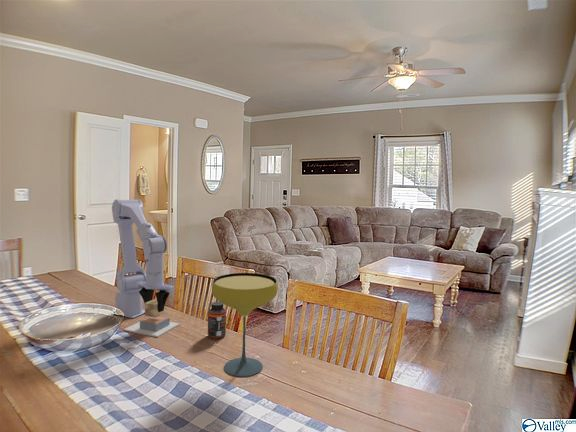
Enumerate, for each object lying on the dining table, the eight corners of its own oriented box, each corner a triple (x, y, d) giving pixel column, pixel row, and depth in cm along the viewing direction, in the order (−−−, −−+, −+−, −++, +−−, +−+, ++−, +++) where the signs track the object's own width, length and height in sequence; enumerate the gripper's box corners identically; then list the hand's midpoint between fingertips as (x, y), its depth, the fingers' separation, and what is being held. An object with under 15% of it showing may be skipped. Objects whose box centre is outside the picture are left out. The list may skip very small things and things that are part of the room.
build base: (124, 330, 131) (123, 321, 131) (148, 319, 142) (147, 310, 142) (157, 337, 126) (157, 327, 126) (179, 324, 137) (179, 316, 137)
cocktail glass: (284, 359, 113) (287, 276, 111) (259, 390, 96) (261, 293, 94) (230, 348, 119) (231, 270, 117) (197, 375, 102) (198, 284, 100)
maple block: (145, 315, 132) (144, 302, 131) (153, 311, 136) (153, 299, 136) (155, 317, 130) (155, 304, 130) (164, 313, 135) (164, 301, 134)
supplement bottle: (223, 339, 126) (224, 306, 125) (205, 339, 126) (206, 305, 125) (227, 332, 132) (227, 300, 131) (210, 332, 132) (210, 300, 131)
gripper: (129, 271, 131) (129, 310, 132) (164, 276, 126) (164, 316, 127) (143, 267, 137) (144, 304, 138) (177, 272, 132) (177, 310, 134)
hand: (154, 310), depth 133 cm, fingers closed on maple block, 4 cm apart
